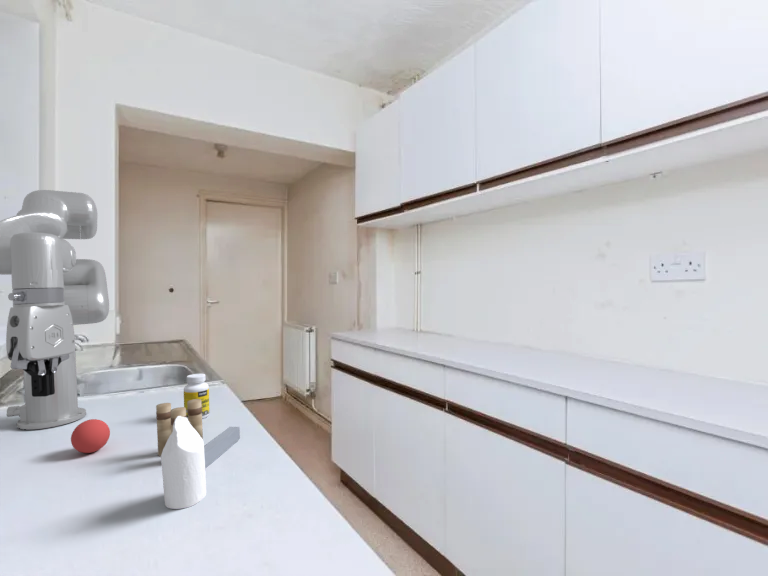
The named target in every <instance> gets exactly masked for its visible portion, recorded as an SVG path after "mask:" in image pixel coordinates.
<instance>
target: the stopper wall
mask: <svg viewBox="0 0 768 576" xmlns="http://www.w3.org/2000/svg"><path fill="white" fill-rule="evenodd" d="M240 433H241V431H240V426H229V427H227V428H226V429H224V430H222V432H220V433H219V434H218V435H217V436H215V437H214V438H213V439H211V440H210V441H208V442H207V443H206V444H204V454H205V469H207V467H209V466H210V465H211V464H212V463H214V462H215V461H216V460H217V459H218V458H220V456H222V455H223V454H225V452H226V451H229V449H231V448H232V447H233V446H234V445H235V444H236V443H238V442H239V441H240V440H239V439H241V437H240V436H241V435H240ZM238 440H239V441H238Z"/></svg>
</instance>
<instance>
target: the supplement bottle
mask: <svg viewBox="0 0 768 576" xmlns="http://www.w3.org/2000/svg"><path fill="white" fill-rule="evenodd" d="M206 379H207V378H206V374H205V373H193V374H189V375H187V376H186V383H187V384H186V385H185V386H184V387H183V407H185V408H186V417H187V419H188V412H187V408H188V405H187V402H188V401H189V400H193V399H201V404H202V420H203V419H205V418H207V417H209V416H210V386H209V384H208V383H207V382H205V381H206Z"/></svg>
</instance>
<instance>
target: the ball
mask: <svg viewBox="0 0 768 576" xmlns="http://www.w3.org/2000/svg"><path fill="white" fill-rule="evenodd" d="M71 433H72V434H71V436H70V443H71V446H72V448H73V449H74V450H75V451H77V452H79V453H83V454H90V453H91V454H92V453H94V452H97V451H99V450H100V449H102V448H104V446H105V445H106V444H107V443H108V441H109V439H110V435H111V429H110V427H109V425H108V424H107V423H106V422H105V421H103V420H101V419H96V418H95V419H93V418H92V419H87V420H84V421H82V422H81V423H79V424H78V425H76V427H75V428H74V429H73V431H72V432H71Z"/></svg>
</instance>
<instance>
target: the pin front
mask: <svg viewBox="0 0 768 576" xmlns="http://www.w3.org/2000/svg"><path fill="white" fill-rule="evenodd" d="M155 409H156V412H155V416H156V419H155V420H156V432H157V433H156V435H157V455H158V456H159V457H161V454H162V451H163V449H164V447H165V445H166V442H167V440H168V438H169V436H170V435H171V434H172V431H171V410H172V403H170V402H162V403H158V404H157V405H155Z"/></svg>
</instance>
